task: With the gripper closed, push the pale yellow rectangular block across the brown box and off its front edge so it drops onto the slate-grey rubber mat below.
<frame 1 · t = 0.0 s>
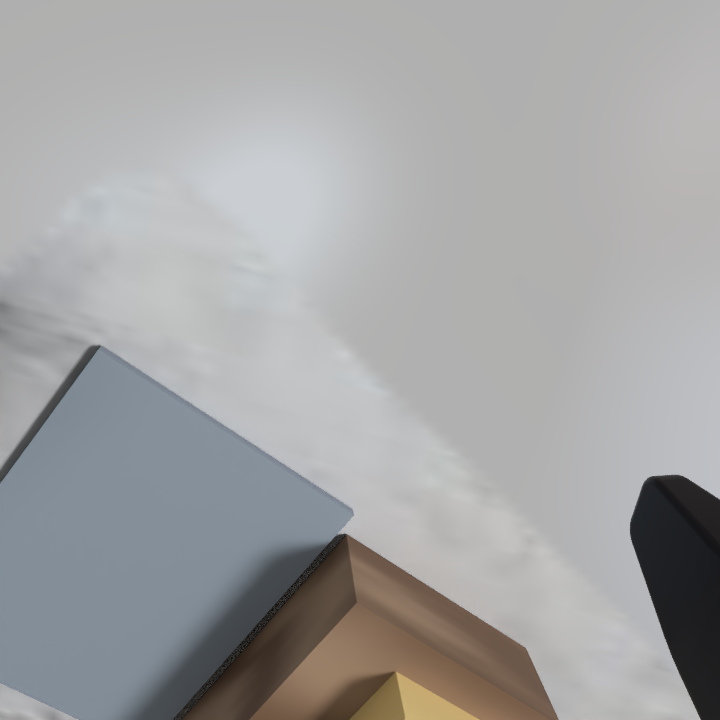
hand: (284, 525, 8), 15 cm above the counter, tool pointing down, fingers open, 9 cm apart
mat: (126, 566, 26), on the counter
brown box: (349, 689, 29), on the counter
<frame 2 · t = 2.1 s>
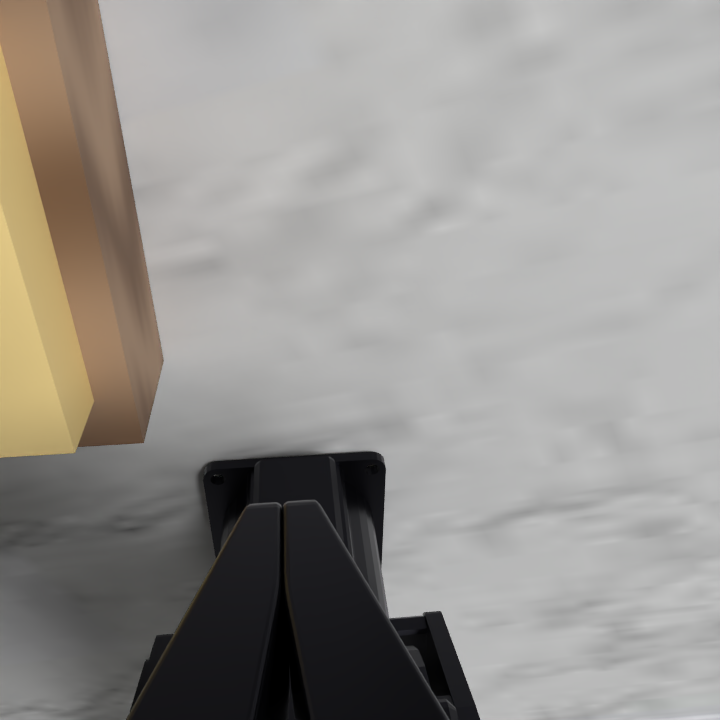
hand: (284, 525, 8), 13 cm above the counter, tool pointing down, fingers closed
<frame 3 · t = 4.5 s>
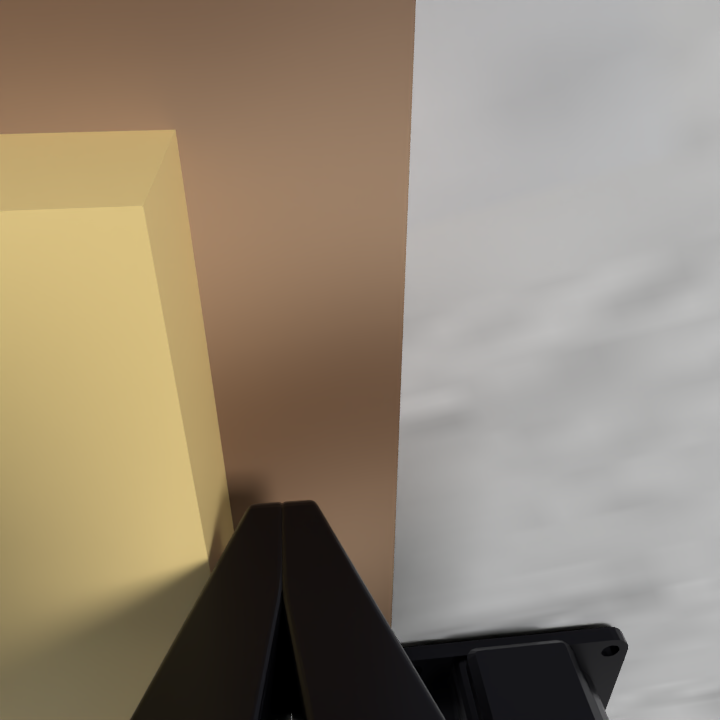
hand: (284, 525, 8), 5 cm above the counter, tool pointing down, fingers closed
brown box: (85, 329, 12), on the counter
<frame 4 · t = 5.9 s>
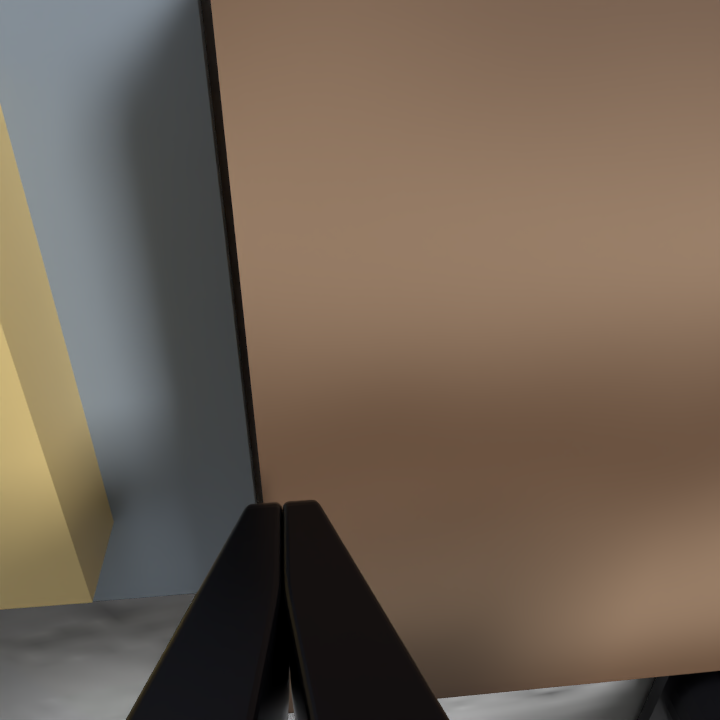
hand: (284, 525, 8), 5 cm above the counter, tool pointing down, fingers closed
brown box: (530, 307, 13), on the counter
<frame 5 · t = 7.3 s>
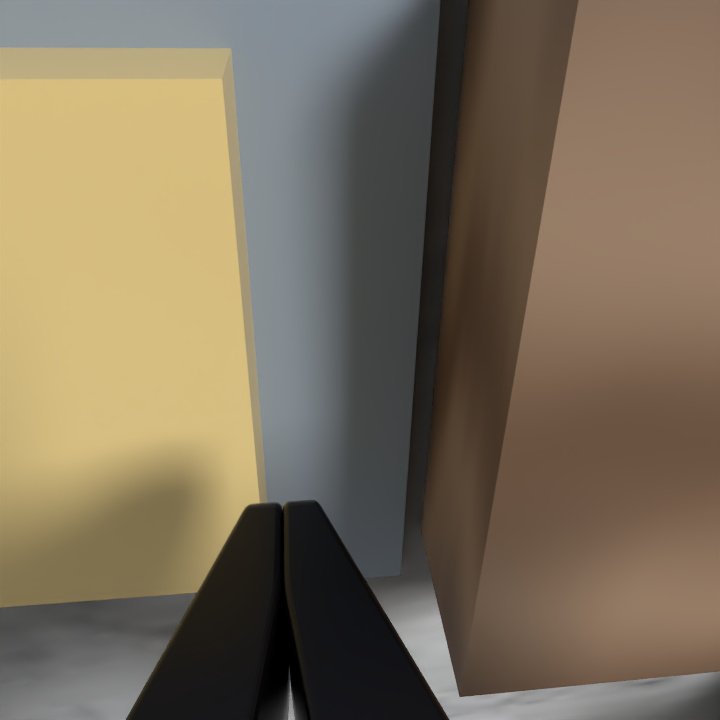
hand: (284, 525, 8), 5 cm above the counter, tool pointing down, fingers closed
mat: (107, 323, 12), on the counter
pale yellow rectangular block: (43, 405, 10), point 2 cm above the counter, tilted 180°, touching mat
brown box: (696, 298, 13), on the counter
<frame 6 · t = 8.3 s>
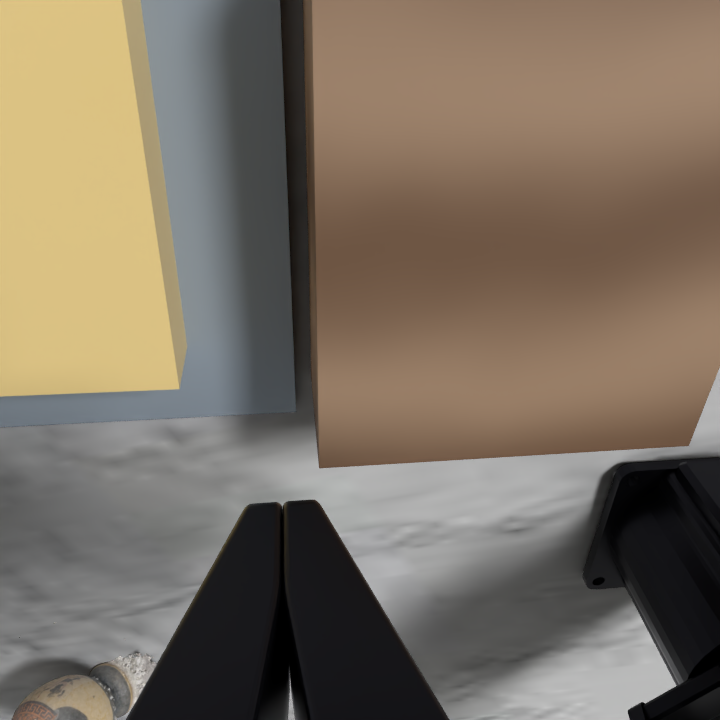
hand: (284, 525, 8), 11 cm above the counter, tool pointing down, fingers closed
mat: (61, 189, 16), on the counter
pale yellow rectangular block: (11, 226, 14), point 2 cm above the counter, tilted 180°, touching mat
vase: (71, 653, 27), on the counter
brown box: (498, 181, 18), on the counter
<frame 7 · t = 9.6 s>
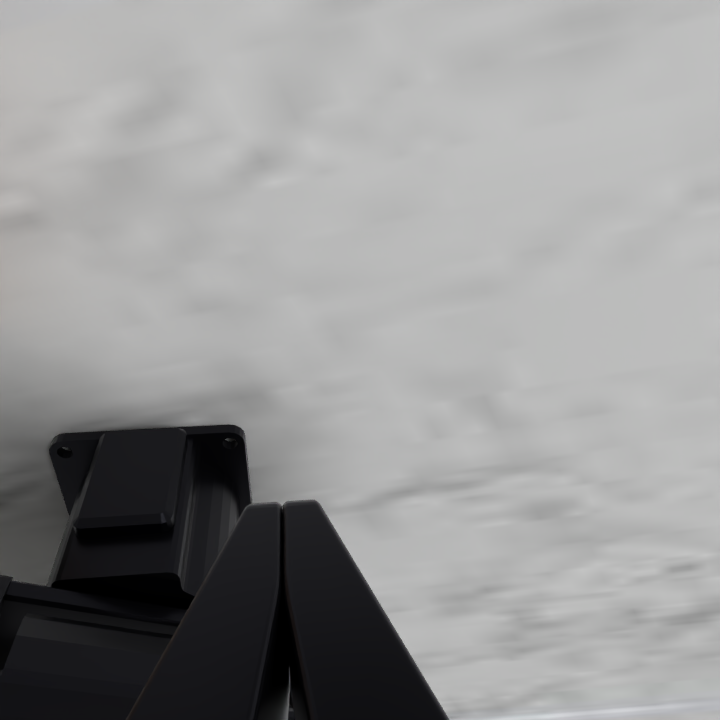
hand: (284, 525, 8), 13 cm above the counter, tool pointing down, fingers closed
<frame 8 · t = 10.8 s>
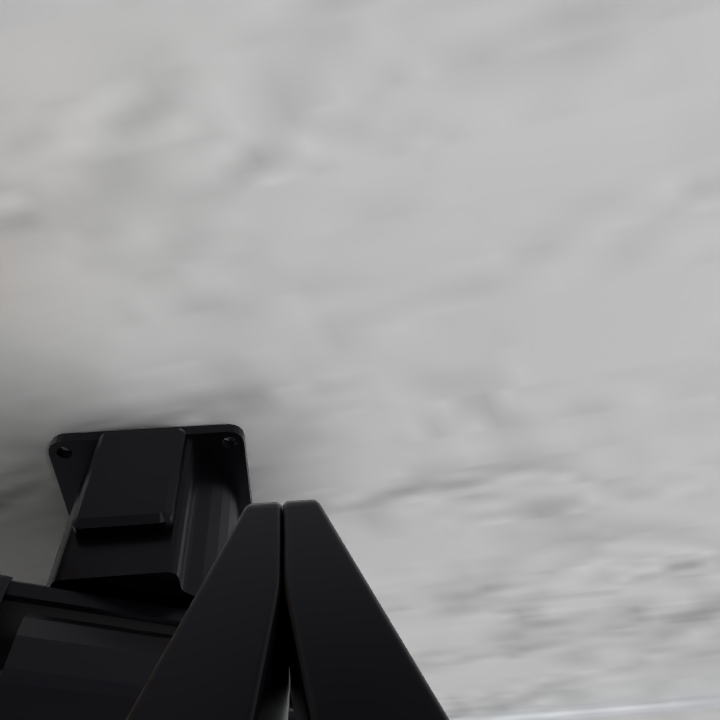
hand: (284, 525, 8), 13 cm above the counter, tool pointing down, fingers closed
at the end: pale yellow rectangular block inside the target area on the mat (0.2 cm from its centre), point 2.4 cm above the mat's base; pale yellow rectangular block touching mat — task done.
